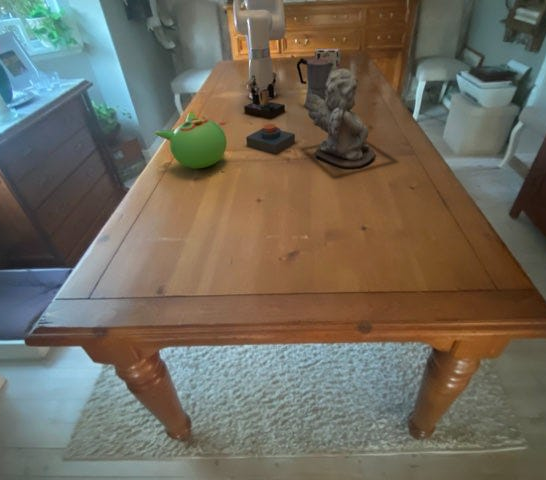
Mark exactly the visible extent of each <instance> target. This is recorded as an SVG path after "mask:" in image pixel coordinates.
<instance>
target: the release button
mask: <svg viewBox="0 0 546 480" xmlns="http://www.w3.org/2000/svg"><path fill="white" fill-rule="evenodd" d="M276 127H277V125H275V124H273V123H269V124H265V125H264V126H263V128H264V132H266V133H273V132H276Z"/></svg>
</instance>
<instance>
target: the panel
mask: <svg viewBox="0 0 546 480" xmlns="http://www.w3.org/2000/svg"><path fill="white" fill-rule="evenodd" d="M243 110H244V111H243V112H244V114H245V115H249V116H253V117H258V118H262V119H265V120H266V119H267V120H272V119H273V120H274V118H277V117H278V116H280V115H282V114H284V113H286V105H285V104H283V103H278V102H273V101H269V106H267V107H260V106H259V105H256V104H253V101H252V102H249V103H248V104H245V105H244V106H243Z"/></svg>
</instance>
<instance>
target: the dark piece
mask: <svg viewBox="0 0 546 480" xmlns="http://www.w3.org/2000/svg"><path fill="white" fill-rule="evenodd" d="M245 140H246V146H247V147H249V148H253V149H256V150H259V151H264V152H267V153H271V154H274V155H278V154H279V153H281V152H282V151H284V150H286V149H287V148H289V147H291V146H292V145H293V144H295V143H296V134H295V133H292V132H289V131H284V130H281V129H280V128H279V127H277V126H276V132H273V133H266V132H264V127H262V128H261V129H259V130H256V131H255V132H253V133H251V134H249V135H247V136H245Z"/></svg>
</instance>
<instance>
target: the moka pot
mask: <svg viewBox="0 0 546 480" xmlns="http://www.w3.org/2000/svg"><path fill="white" fill-rule="evenodd" d="M320 56H321V54H319V53H318V54H317V58H315V57H314V58H311V59H309V58H300V59H299V61H298V62H297V63H296V69H297V72H298V77H299V81H300V84H303V85H306V84H307V90H306V96H305V103H304V106H305V107H306V108H307V103H308V95H309V94H314V95H316V96H318V97H320V98H321V99H323V100H325V101H326V96H325V94H326V90H325V85H326V82H327V77H328V74H329V72H330V70H331V68H332V66H333V65H334V63H333V62H331V61H329V60H327V59H322V58H320ZM301 64H302V65H304V66H306V75H307V81H305V80H304V79H303V74H302V71H301Z"/></svg>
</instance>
